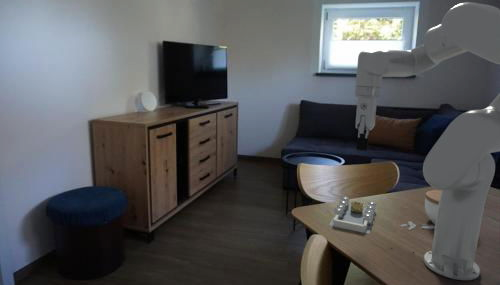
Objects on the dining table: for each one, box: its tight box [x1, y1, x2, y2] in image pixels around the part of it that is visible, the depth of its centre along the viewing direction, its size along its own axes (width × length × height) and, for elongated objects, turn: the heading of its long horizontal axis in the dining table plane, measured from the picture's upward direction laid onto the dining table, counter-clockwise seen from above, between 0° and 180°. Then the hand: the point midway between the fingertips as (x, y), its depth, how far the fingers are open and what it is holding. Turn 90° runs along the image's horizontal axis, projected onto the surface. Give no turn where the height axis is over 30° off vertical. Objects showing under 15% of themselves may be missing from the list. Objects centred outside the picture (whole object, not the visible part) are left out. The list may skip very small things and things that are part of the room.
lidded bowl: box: [424, 189, 442, 225], centre depth 117 cm, size 13×13×11 cm
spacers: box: [333, 196, 377, 226], centre depth 120 cm, size 14×12×3 cm
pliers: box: [399, 221, 435, 231], centre depth 116 cm, size 10×2×15 cm
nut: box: [350, 200, 364, 214], centre depth 123 cm, size 4×4×3 cm
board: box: [328, 204, 377, 235], centre depth 118 cm, size 20×12×3 cm, turn 155°
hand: (361, 149), depth 116 cm, fingers closed
